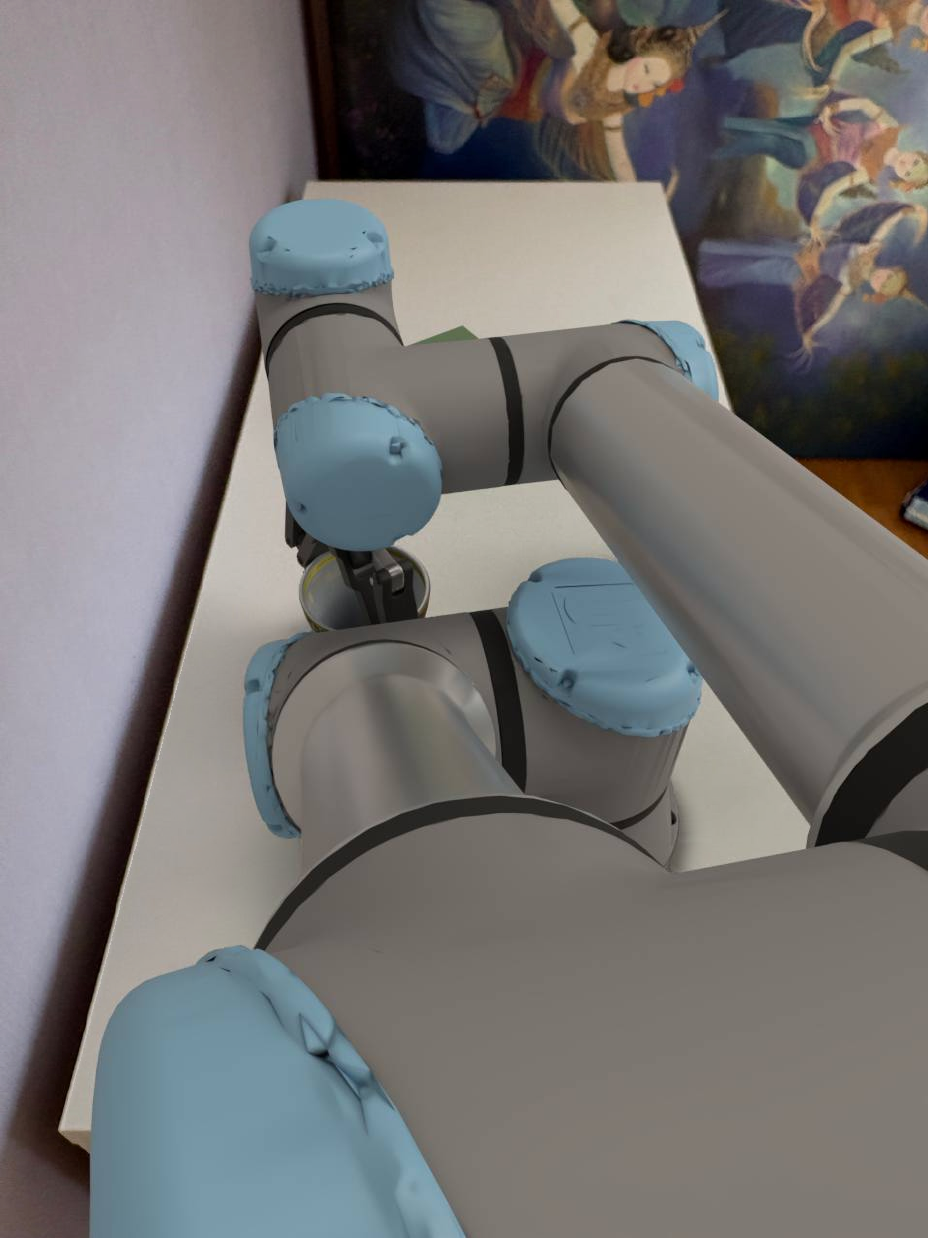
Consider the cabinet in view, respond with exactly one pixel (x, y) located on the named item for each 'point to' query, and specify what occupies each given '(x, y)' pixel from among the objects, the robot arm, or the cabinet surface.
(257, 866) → the cabinet surface
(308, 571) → the ceramic cup
